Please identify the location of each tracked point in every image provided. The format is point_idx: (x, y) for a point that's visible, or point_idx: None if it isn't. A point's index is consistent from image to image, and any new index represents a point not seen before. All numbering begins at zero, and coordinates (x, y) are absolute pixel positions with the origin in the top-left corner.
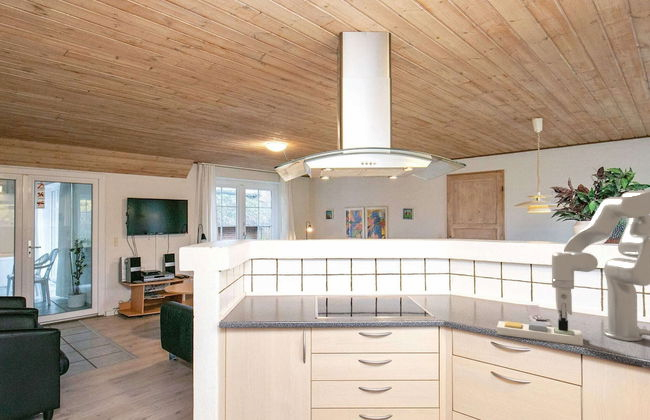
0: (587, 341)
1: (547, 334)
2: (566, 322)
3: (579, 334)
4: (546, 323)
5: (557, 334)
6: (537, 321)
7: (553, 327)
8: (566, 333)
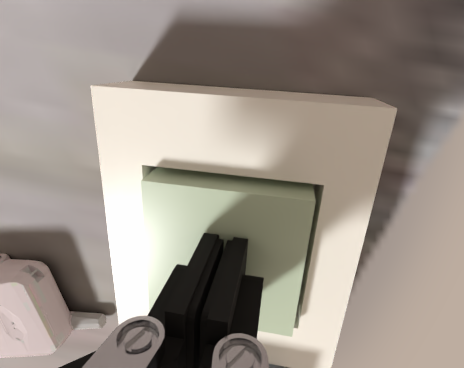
0: (209, 33)
1: (328, 366)
2: (231, 318)
3: (260, 123)
4: (7, 306)
5: (340, 317)
6: (3, 351)
7: (119, 298)
8: (306, 251)
